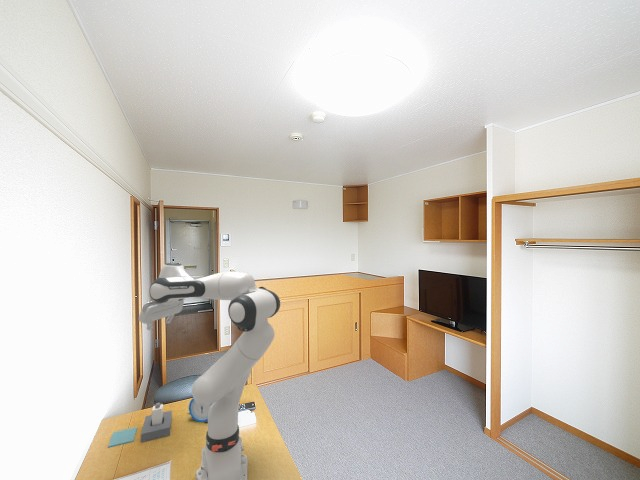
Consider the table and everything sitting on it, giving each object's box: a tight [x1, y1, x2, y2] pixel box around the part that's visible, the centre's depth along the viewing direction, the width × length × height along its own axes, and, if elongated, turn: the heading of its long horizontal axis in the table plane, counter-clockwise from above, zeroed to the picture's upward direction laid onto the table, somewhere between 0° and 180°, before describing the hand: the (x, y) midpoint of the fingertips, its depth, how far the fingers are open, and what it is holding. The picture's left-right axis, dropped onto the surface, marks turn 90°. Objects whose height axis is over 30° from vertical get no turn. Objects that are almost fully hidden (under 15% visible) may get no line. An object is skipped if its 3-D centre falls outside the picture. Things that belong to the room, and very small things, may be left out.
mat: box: [107, 426, 138, 449], centre depth 123 cm, size 10×9×1 cm
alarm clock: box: [188, 397, 213, 423], centre depth 137 cm, size 13×6×15 cm, turn 83°
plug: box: [151, 402, 164, 426], centre depth 128 cm, size 4×4×12 cm
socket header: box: [140, 410, 173, 443], centre depth 128 cm, size 14×11×4 cm
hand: (158, 326), depth 125 cm, fingers open, 8 cm apart
